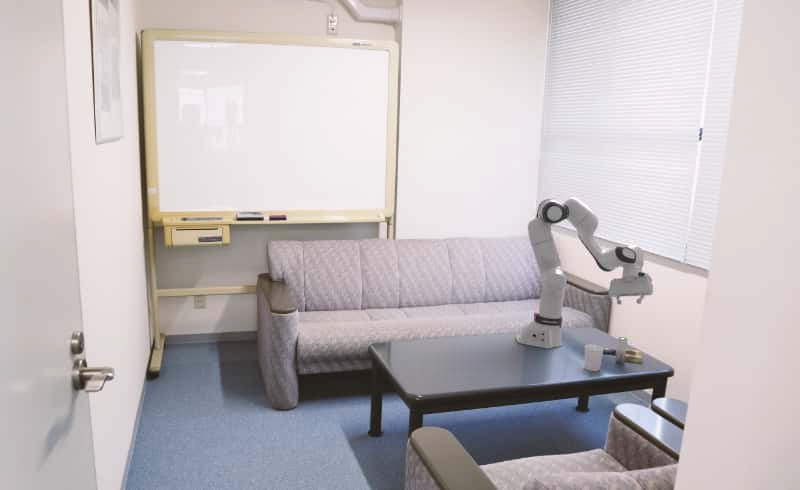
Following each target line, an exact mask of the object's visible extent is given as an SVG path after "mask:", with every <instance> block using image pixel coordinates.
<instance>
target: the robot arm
mask: <svg viewBox="0 0 800 490" xmlns="http://www.w3.org/2000/svg"><path fill="white" fill-rule="evenodd" d="M565 220H567V221H568V222H569V223H570V224H571V225H572V226H573V227H574V229H575V230H576V232H577V235H578V239H579V240H580V242H581V243H582V245H583V246H584V247H585V249H586V250H587V251H588V252H589V254H590V255H591V256H592V258H593V259H594V260H595V263H596V265H597V266H598V268H599V269H600V270H601V271H603V272H606V273H610V272H612V271H614V270H615V269H618V268H620V267H621V268H623V269H622V274H621V275H622V276H621V277H620V278H619V277H618V278H613V279H612V280H610V282H609V289H608V294H609V295H610V297H613V298H615V299H616V304H617V305H622V300H621V299H620V298H621V297H638V298H636V304H637V305H640V304H642V301H643V300H644V299H645V296H651V295H653V293H654V285H653V283H652V282H653V278H652V277H651V275H650V274H648V273H647V272H643V267H644V258H645V255H644V250H643V248H642V247H640V246H639V245H630V246H629V245H624V244H618V245H615V246H613V247H611V248H610V249H607V250H606V249H603V248H602V247H601V245H600V244H599V243H598V242H597V240H596V239H595V237H594V234H595V232H596V231H597V228H598V226H599V218H598V216H597V215H596V214H595V213H594V211H592V209H591V208H589V207H588V206H587V205H586V204H585V203H584V202H582V201H581V200H580V199H578V198H576V197H570V198H568V199H566V200H565V201H564V202H562V203H561V201H560V202H559V201H558V200H556V199H552V198H547V199H544V200H542V201H541V202H540V203H539V204H538V208H537V212H536V216H535V218H534V219H532V220H530V221H529V222H528V224H527V232H528V237H529V238H528V239H529V242H530V245H531V247H532V252H533V255H534V257H535V261H536V264H537V267H538V270H539V273H540V276H541V281H542V285H541V293H540V299H539V309H538V312H537V311H536V312H533V317H534V319H533V321H530V322H529V323H527V324H525V325H524V326H523V327H522V329H521V332H520V333H518V334H517V335H516V342H517V343H518V344H523V345H527V346H532V347H538V348H543V349H549V350H550V349H552V348H558V347H561V346H562V345H563V340H562V330H561V329H562V327H563V307H564V306H563V305H564V299H565V293H566V290H567V289H566V286H567V277H566V274H565V272H564V269H563V265H562V262H561V258H560V255H559V251H558V249H557V245H556V242H555V237H554V235H553V232H552V224H553V225H555V224H559V223H561V222H563V221H565Z"/></svg>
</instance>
